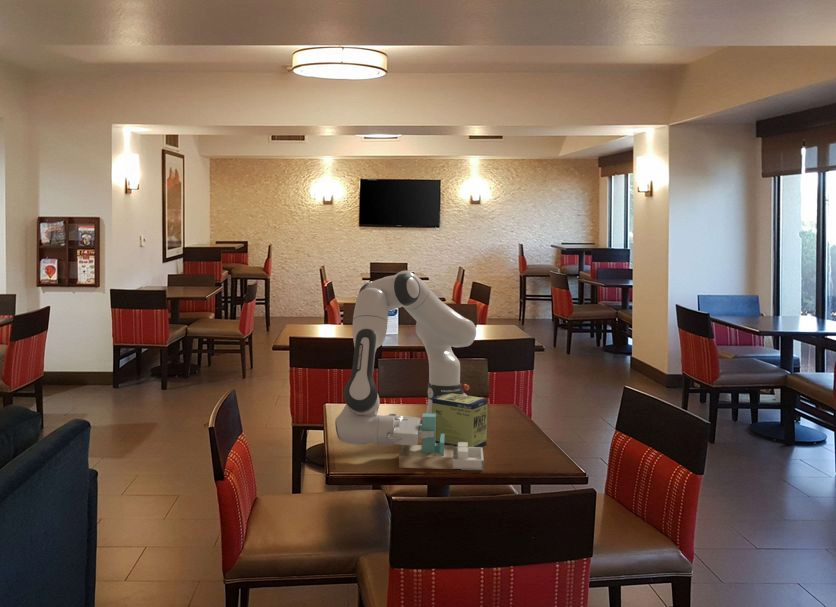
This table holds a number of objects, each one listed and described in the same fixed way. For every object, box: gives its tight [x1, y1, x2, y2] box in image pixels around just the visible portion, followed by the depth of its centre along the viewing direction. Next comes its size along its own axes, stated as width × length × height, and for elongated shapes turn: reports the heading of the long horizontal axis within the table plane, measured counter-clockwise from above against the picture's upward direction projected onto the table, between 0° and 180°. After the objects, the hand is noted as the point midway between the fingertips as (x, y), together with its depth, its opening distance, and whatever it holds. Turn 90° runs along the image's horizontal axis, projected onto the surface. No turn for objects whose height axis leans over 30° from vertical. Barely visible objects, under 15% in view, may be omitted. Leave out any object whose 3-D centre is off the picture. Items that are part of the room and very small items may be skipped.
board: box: [398, 444, 453, 470], centre depth 255 cm, size 16×13×4 cm
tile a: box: [458, 442, 468, 448], centre depth 257 cm, size 4×4×3 cm
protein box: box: [432, 393, 488, 448], centre depth 274 cm, size 10×16×16 cm
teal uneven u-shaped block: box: [421, 412, 445, 456], centre depth 254 cm, size 7×10×11 cm
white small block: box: [458, 447, 468, 459], centre depth 252 cm, size 4×4×3 cm
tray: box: [452, 446, 485, 471], centre depth 255 cm, size 9×14×3 cm, turn 177°
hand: (434, 431), depth 254 cm, fingers closed on teal uneven u-shaped block, 4 cm apart
